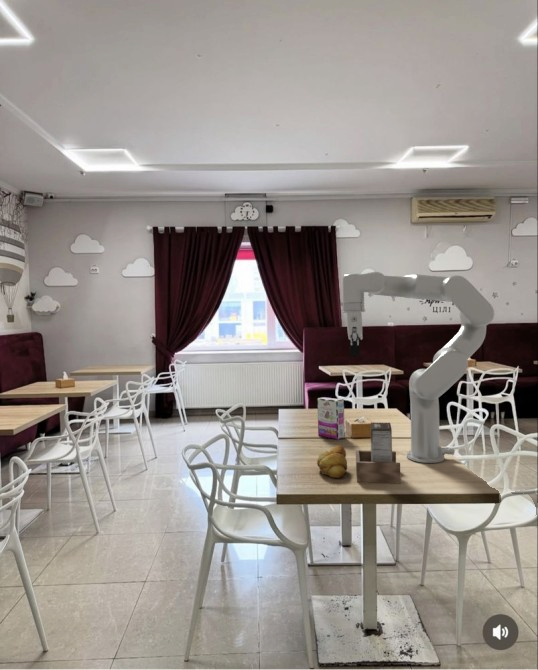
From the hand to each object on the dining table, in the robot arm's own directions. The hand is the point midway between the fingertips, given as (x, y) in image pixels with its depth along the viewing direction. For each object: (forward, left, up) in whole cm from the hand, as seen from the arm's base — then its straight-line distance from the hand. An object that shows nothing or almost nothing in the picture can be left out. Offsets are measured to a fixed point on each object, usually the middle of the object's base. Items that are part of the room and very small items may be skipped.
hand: (354, 355), depth 161 cm
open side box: (-6, +20, -37) cm, 42 cm away
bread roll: (+8, +19, -37) cm, 42 cm away
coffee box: (-7, +20, -37) cm, 42 cm away
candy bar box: (+10, -27, -37) cm, 47 cm away
